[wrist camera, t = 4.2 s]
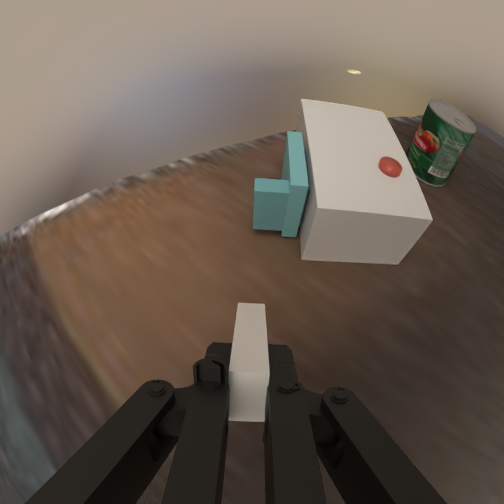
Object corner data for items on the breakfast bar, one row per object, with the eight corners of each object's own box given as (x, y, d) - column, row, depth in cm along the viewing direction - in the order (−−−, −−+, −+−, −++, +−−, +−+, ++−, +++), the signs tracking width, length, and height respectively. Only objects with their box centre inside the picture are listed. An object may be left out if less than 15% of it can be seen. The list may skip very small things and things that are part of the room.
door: (293, 182, 34) (301, 132, 28) (296, 237, 30) (308, 186, 24) (255, 180, 34) (257, 129, 28) (252, 234, 30) (254, 182, 24)
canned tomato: (394, 154, 39) (418, 96, 30) (426, 151, 41) (449, 100, 31) (424, 190, 35) (457, 132, 26) (454, 184, 37) (484, 133, 27)
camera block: (365, 149, 39) (380, 102, 32) (397, 264, 29) (435, 216, 22) (291, 140, 39) (298, 89, 32) (299, 259, 29) (316, 202, 22)
